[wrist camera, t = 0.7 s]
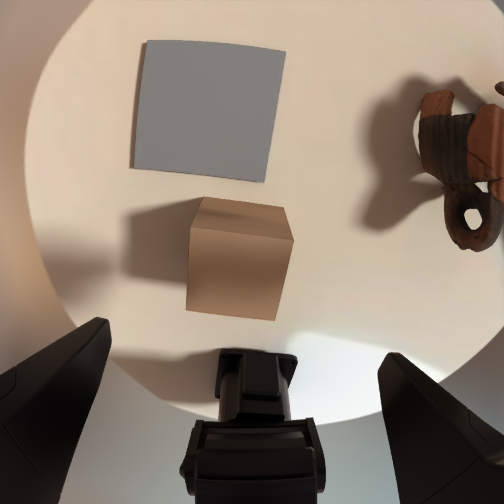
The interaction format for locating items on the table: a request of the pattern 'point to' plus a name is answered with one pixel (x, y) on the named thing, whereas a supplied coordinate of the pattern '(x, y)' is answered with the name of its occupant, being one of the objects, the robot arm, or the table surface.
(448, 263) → the table surface
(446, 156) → the pottery mug
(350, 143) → the table surface
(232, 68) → the felt coaster
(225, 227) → the walnut block
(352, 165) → the table surface
